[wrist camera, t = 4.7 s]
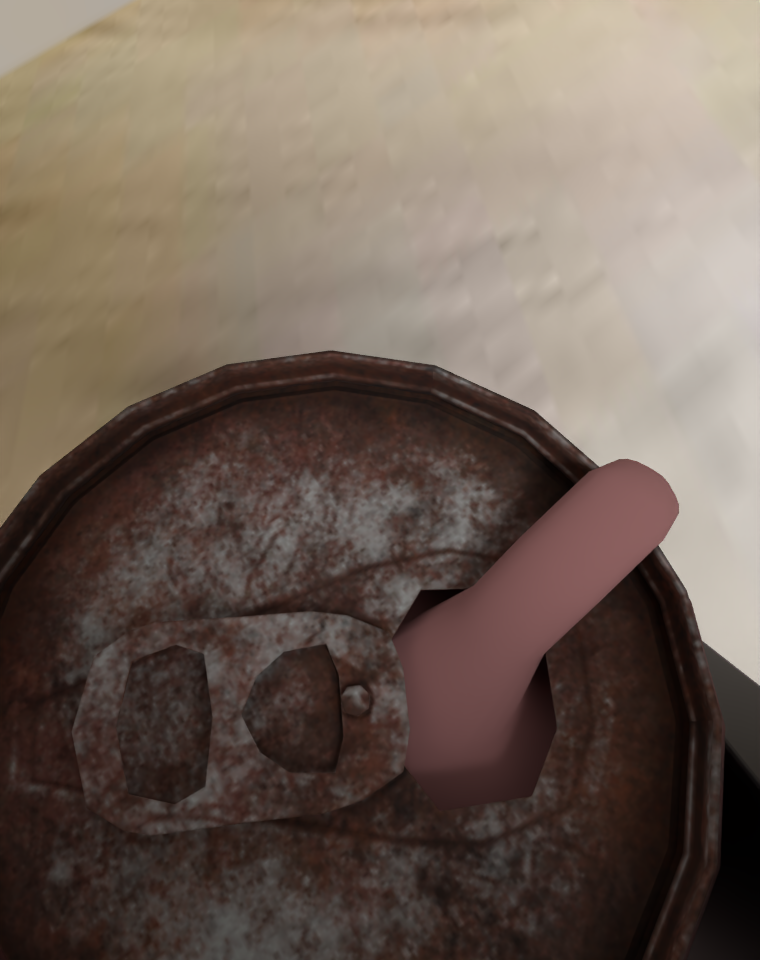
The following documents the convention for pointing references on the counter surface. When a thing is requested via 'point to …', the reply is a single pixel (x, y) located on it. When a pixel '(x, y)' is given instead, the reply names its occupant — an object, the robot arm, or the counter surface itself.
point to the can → (349, 684)
